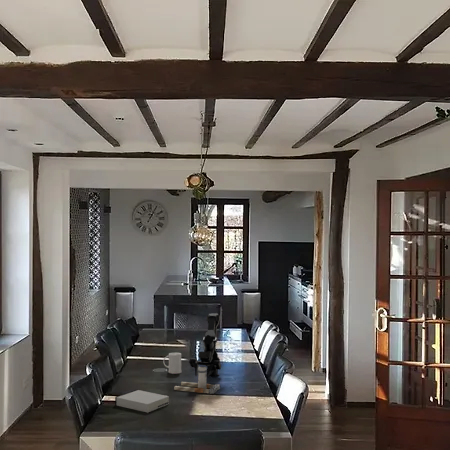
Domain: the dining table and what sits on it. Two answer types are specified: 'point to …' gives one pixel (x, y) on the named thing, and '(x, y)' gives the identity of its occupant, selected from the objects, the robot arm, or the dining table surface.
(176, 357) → the mug
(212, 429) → the dining table surface
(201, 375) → the grey capped post
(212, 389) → the beige u-shaped frame
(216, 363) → the robot arm
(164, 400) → the disc drive
